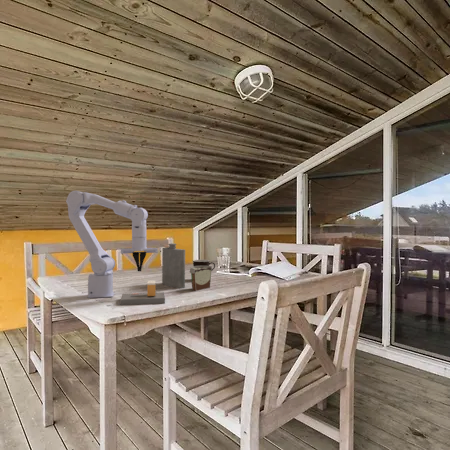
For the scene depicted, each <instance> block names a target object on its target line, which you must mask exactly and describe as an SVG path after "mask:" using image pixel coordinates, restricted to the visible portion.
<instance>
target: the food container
mask: <svg viewBox="0 0 450 450" xmlns="http://www.w3.org/2000/svg"><path fill="white" fill-rule="evenodd" d="M212 269H213V267H212V265H209V266H191V267H190V269H189V273H190V276H191V288H192V291H194V292H198V291H203V290H209V289H211V281H212V271H213V270H212Z"/></svg>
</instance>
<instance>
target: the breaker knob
mask: <svg viewBox="0 0 450 450" xmlns="http://www.w3.org/2000/svg"><path fill="white" fill-rule="evenodd" d="M146 290H147V291H146V293H147V296H155V293H156V291H157V289H156V280H148V281H147V289H146Z"/></svg>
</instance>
